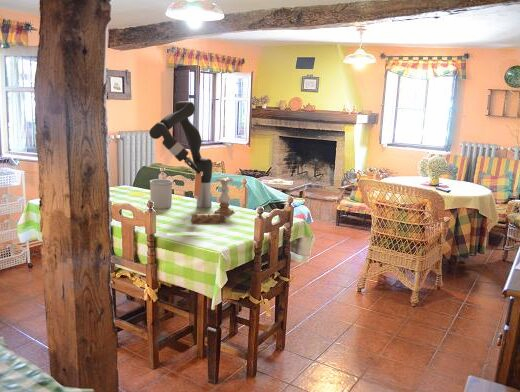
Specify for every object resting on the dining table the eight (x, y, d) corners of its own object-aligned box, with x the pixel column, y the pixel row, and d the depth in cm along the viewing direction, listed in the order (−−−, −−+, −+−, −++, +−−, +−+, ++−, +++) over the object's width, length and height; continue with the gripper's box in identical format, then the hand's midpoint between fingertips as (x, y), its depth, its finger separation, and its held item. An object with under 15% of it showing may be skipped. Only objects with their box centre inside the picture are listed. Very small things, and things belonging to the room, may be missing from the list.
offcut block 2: (209, 222, 274) (209, 215, 273) (209, 221, 277) (209, 213, 276) (219, 222, 275) (219, 214, 274) (219, 221, 278) (219, 213, 277)
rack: (191, 226, 270) (191, 218, 269) (190, 221, 280) (190, 214, 280) (226, 225, 274) (226, 218, 273) (223, 220, 284) (224, 213, 283)
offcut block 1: (197, 222, 273) (197, 215, 272) (197, 221, 275) (197, 213, 274) (207, 222, 274) (207, 215, 273) (207, 221, 277) (207, 213, 276)
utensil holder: (175, 208, 313) (175, 182, 309) (152, 209, 306) (152, 183, 302) (169, 203, 325) (169, 178, 322) (147, 204, 319) (147, 179, 315)
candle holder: (235, 214, 300) (236, 178, 295) (228, 218, 290) (229, 180, 285) (219, 212, 304) (220, 176, 299) (212, 216, 294) (213, 179, 289)
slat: (194, 196, 276) (195, 172, 274) (194, 195, 278) (195, 172, 275) (200, 196, 277) (201, 172, 274) (200, 195, 278) (201, 172, 276)
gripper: (183, 148, 263) (205, 170, 268) (182, 145, 276) (203, 166, 281) (174, 157, 263) (195, 179, 268) (173, 154, 276) (194, 175, 281)
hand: (199, 172), depth 275 cm, fingers closed on slat, 1 cm apart
